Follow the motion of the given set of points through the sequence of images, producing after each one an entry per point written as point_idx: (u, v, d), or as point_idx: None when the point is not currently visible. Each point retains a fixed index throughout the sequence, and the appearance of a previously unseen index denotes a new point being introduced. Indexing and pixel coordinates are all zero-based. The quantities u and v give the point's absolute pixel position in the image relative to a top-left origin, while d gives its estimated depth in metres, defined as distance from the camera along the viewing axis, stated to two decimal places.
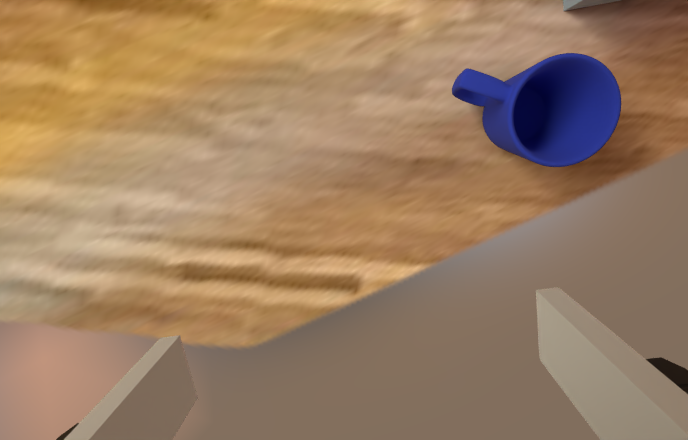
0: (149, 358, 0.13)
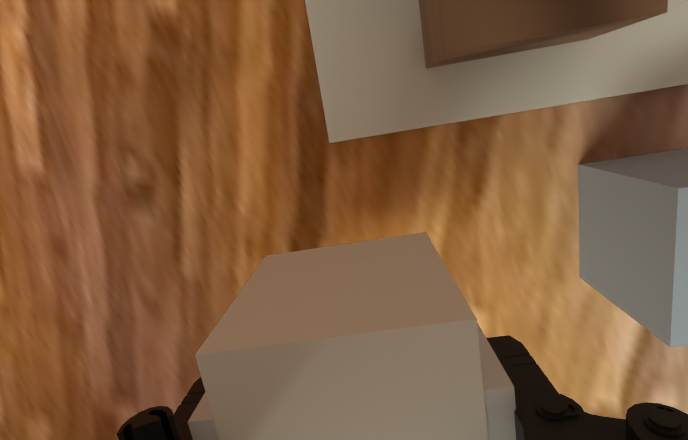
0: None
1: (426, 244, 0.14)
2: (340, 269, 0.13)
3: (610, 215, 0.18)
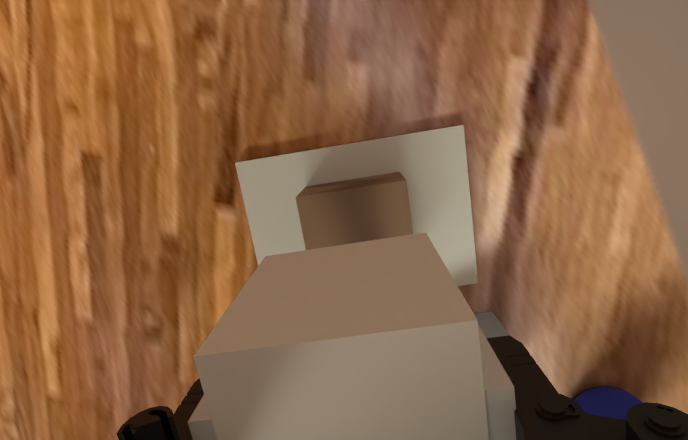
0: None
1: (426, 244, 0.14)
2: (340, 270, 0.13)
3: None
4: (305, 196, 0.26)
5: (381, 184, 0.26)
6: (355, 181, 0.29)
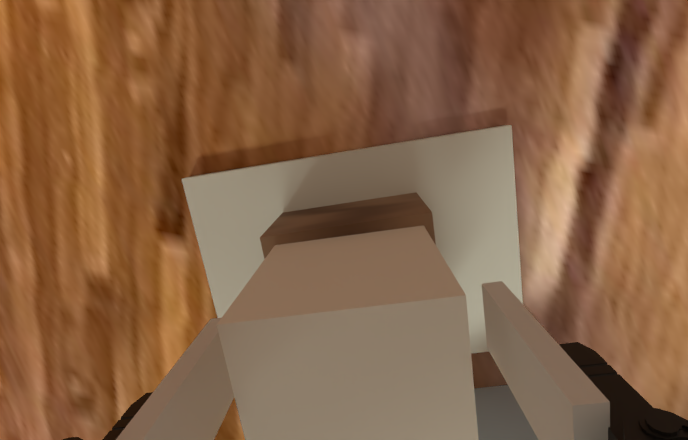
0: (205, 336, 0.14)
1: (423, 235, 0.15)
2: (345, 257, 0.14)
3: None
4: (275, 236, 0.17)
5: (392, 218, 0.17)
6: (352, 208, 0.20)
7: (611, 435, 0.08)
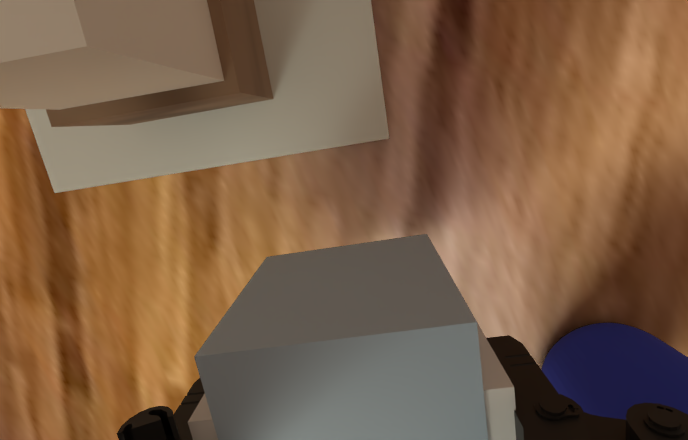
0: None
1: None
2: None
3: None
4: None
5: None
6: None
7: (516, 417, 0.09)
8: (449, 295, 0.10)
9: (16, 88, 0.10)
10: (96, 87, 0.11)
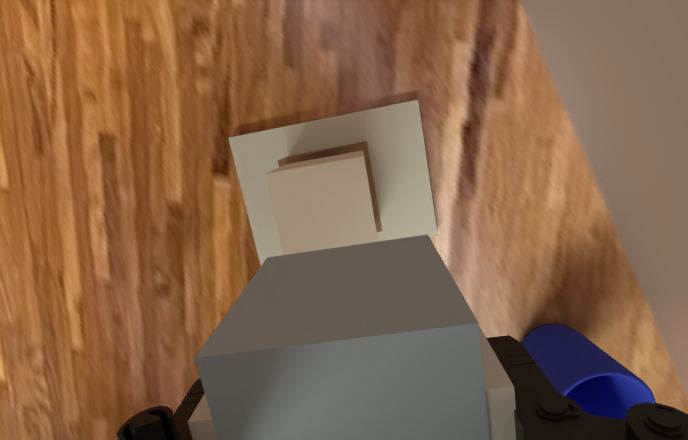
0: None
1: (360, 151, 0.30)
2: (320, 160, 0.29)
3: None
4: (285, 159, 0.32)
5: (347, 147, 0.32)
6: None
7: (516, 417, 0.09)
8: (450, 296, 0.10)
9: None
10: None
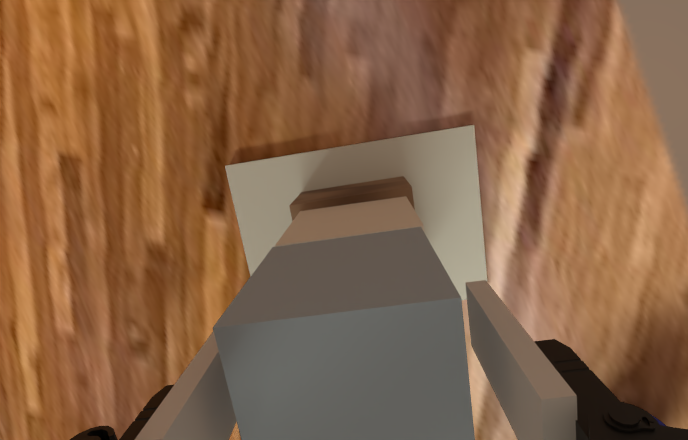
0: None
1: (405, 201, 0.22)
2: (350, 214, 0.21)
3: None
4: (300, 204, 0.24)
5: (384, 191, 0.23)
6: (355, 187, 0.27)
7: (578, 427, 0.08)
8: (438, 277, 0.11)
9: None
10: None
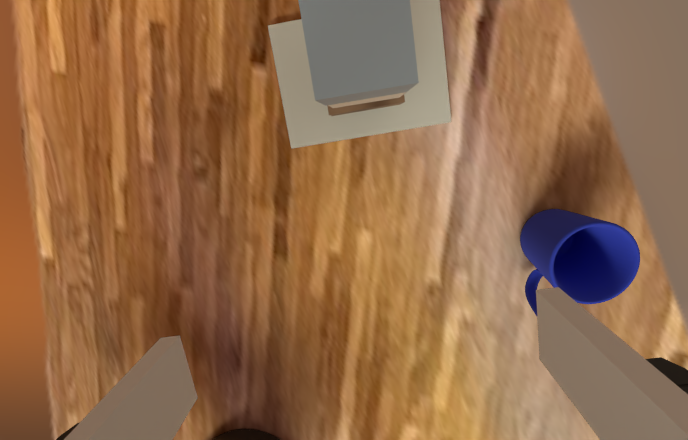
0: (149, 358, 0.13)
1: None
2: None
3: None
4: None
5: None
6: None
7: None
8: None
9: (361, 100, 0.33)
10: (371, 100, 0.35)
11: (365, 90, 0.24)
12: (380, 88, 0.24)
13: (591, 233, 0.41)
